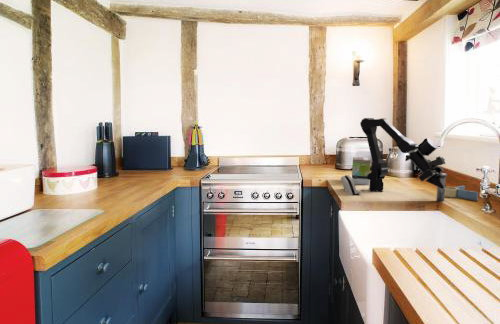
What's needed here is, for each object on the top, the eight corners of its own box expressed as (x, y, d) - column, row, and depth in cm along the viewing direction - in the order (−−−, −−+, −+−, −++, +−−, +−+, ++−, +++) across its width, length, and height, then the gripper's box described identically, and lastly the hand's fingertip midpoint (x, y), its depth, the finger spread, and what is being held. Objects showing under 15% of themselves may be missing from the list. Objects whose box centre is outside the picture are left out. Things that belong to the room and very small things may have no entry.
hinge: (360, 195, 187) (354, 176, 186) (351, 198, 188) (345, 179, 187) (353, 188, 204) (347, 171, 203) (344, 191, 204) (339, 174, 203)
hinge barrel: (448, 199, 178) (448, 191, 177) (437, 191, 196) (437, 184, 196) (478, 200, 175) (478, 192, 175) (464, 193, 194) (464, 185, 193)
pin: (436, 201, 174) (438, 174, 172) (434, 199, 178) (435, 172, 176) (446, 202, 173) (448, 174, 171) (443, 200, 177) (445, 173, 175)
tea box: (369, 185, 216) (370, 159, 214) (351, 184, 218) (352, 159, 216) (368, 180, 230) (369, 157, 228) (351, 180, 233) (352, 156, 231)
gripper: (428, 152, 168) (453, 179, 162) (440, 149, 182) (463, 174, 176) (409, 168, 175) (432, 194, 169) (422, 164, 188) (444, 188, 182)
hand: (444, 187), depth 174 cm, fingers closed on pin, 3 cm apart
